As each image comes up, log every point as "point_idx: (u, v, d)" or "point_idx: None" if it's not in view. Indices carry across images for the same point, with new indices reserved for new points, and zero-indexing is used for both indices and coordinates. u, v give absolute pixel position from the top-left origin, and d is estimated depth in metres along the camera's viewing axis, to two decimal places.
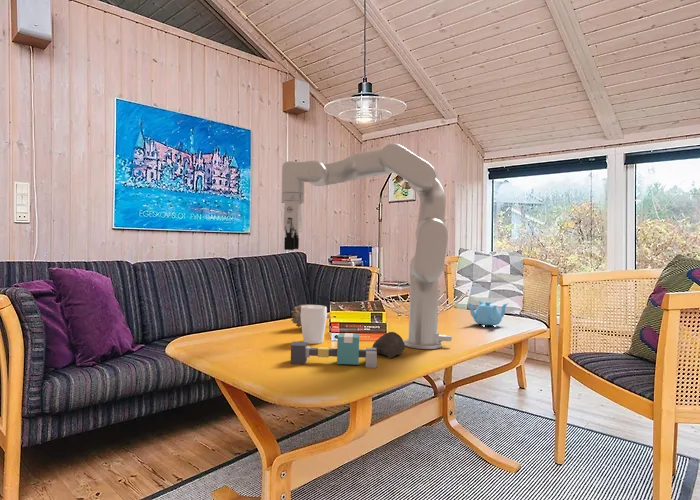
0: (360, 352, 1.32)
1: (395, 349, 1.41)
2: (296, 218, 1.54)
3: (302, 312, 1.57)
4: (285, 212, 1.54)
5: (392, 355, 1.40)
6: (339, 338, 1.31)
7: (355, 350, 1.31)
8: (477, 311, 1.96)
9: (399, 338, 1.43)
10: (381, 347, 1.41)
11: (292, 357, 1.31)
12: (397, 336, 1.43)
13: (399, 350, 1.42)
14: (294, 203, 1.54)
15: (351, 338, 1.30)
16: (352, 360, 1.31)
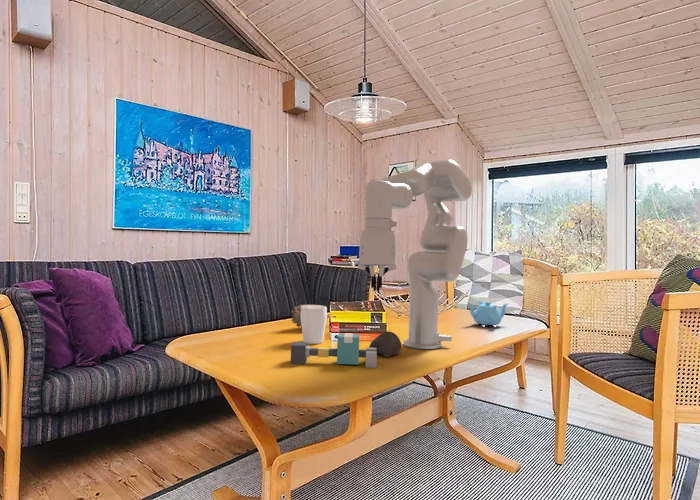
0: (360, 352, 1.32)
1: (392, 349, 1.42)
2: None
3: (302, 312, 1.57)
4: (394, 243, 1.30)
5: (389, 354, 1.41)
6: (339, 338, 1.31)
7: (355, 350, 1.31)
8: (477, 311, 1.96)
9: (396, 338, 1.43)
10: (378, 347, 1.41)
11: (292, 357, 1.31)
12: (394, 336, 1.43)
13: (396, 349, 1.43)
14: None
15: (351, 338, 1.30)
16: (352, 360, 1.31)
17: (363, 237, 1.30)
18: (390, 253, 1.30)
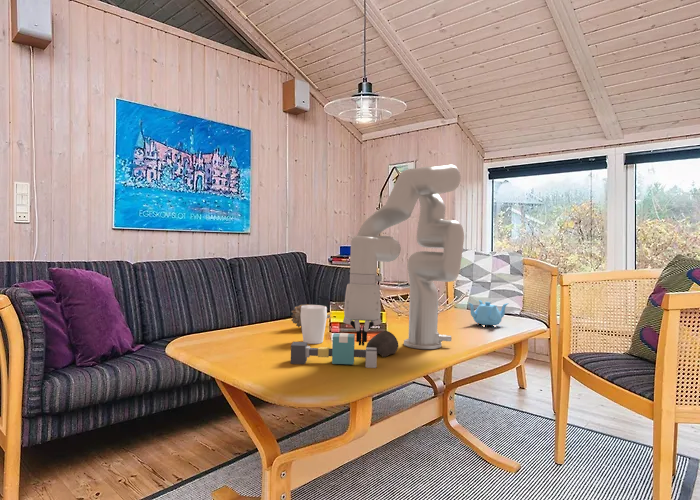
0: (360, 352, 1.32)
1: (389, 348, 1.42)
2: None
3: (302, 312, 1.57)
4: (379, 298, 1.31)
5: (386, 354, 1.41)
6: (334, 338, 1.31)
7: (350, 350, 1.31)
8: (477, 311, 1.96)
9: (393, 337, 1.44)
10: (375, 346, 1.42)
11: (292, 357, 1.31)
12: (391, 335, 1.44)
13: (393, 349, 1.43)
14: None
15: (346, 338, 1.31)
16: (347, 360, 1.31)
17: (348, 292, 1.31)
18: (375, 308, 1.30)
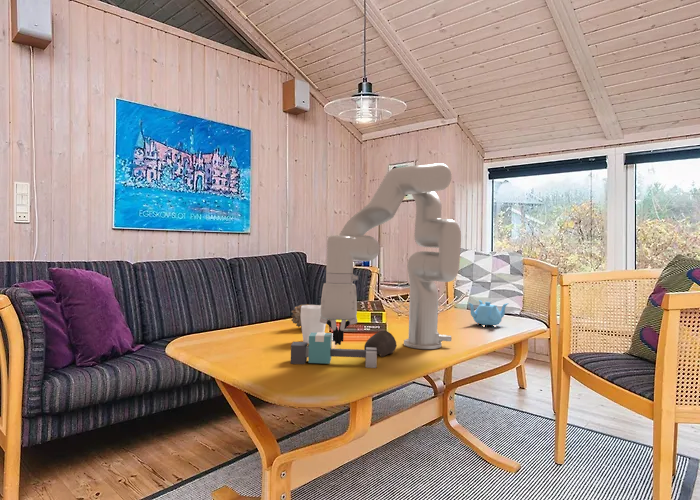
0: (360, 352, 1.32)
1: (387, 348, 1.43)
2: None
3: (302, 312, 1.57)
4: (355, 297, 1.31)
5: (384, 353, 1.42)
6: (310, 337, 1.31)
7: (327, 349, 1.31)
8: (477, 311, 1.96)
9: (391, 337, 1.45)
10: (373, 346, 1.42)
11: (292, 357, 1.31)
12: (389, 335, 1.44)
13: (391, 348, 1.44)
14: None
15: (322, 337, 1.31)
16: (323, 359, 1.31)
17: (324, 292, 1.31)
18: (351, 308, 1.31)
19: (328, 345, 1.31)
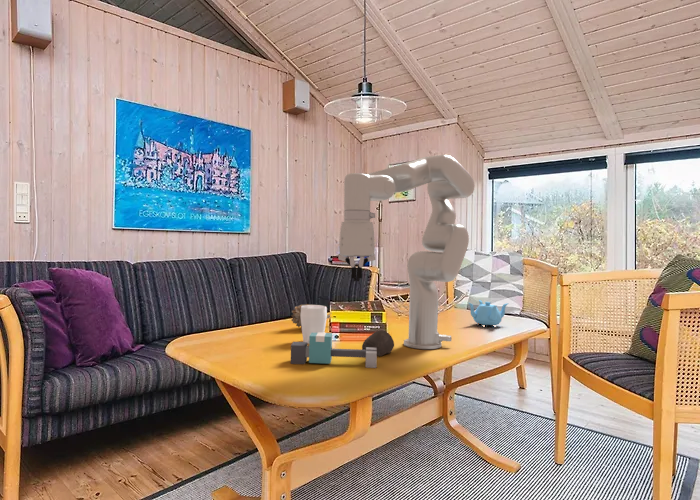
0: (360, 352, 1.32)
1: (385, 347, 1.43)
2: None
3: (302, 312, 1.57)
4: (373, 234, 1.33)
5: (382, 353, 1.42)
6: (311, 337, 1.31)
7: (327, 349, 1.31)
8: (477, 311, 1.96)
9: (389, 336, 1.45)
10: (371, 345, 1.43)
11: (292, 357, 1.31)
12: (387, 334, 1.45)
13: (389, 348, 1.44)
14: None
15: (323, 337, 1.31)
16: (324, 359, 1.31)
17: (342, 229, 1.33)
18: (369, 244, 1.33)
19: (328, 345, 1.31)
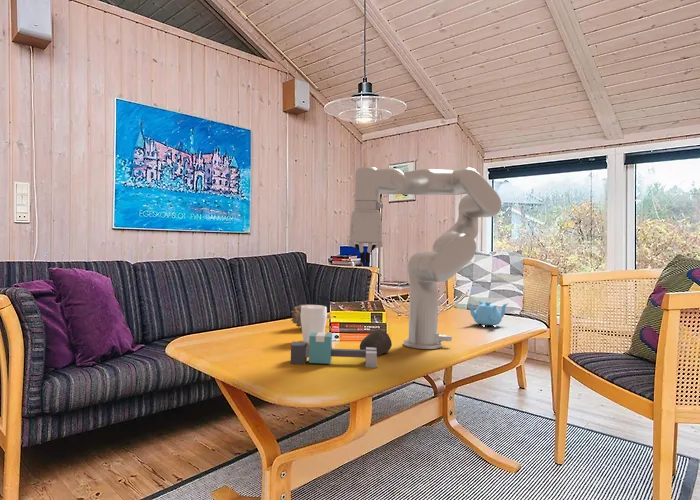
0: (360, 352, 1.32)
1: (383, 347, 1.44)
2: None
3: (302, 312, 1.57)
4: (380, 222, 1.46)
5: (380, 353, 1.43)
6: (311, 337, 1.31)
7: (327, 349, 1.31)
8: (477, 311, 1.96)
9: (386, 336, 1.46)
10: (369, 345, 1.43)
11: (292, 357, 1.31)
12: (384, 334, 1.45)
13: (386, 347, 1.45)
14: None
15: (323, 337, 1.31)
16: (324, 359, 1.31)
17: (353, 217, 1.46)
18: (377, 231, 1.46)
19: (328, 345, 1.31)
